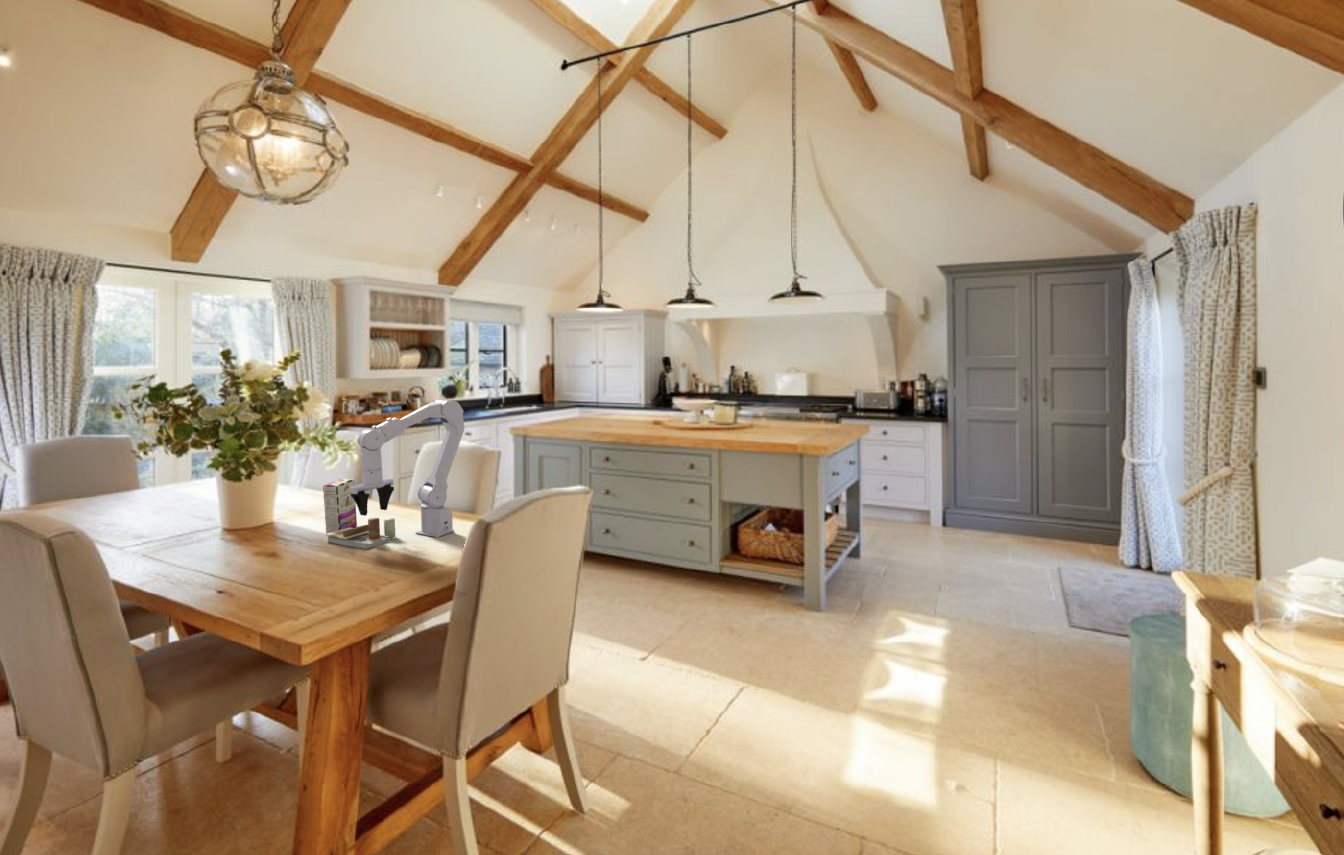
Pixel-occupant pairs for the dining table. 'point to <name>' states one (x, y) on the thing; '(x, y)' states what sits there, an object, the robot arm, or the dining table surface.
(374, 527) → the walnut peg
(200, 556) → the dining table surface
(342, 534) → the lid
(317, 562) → the dining table surface
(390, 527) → the sage peg
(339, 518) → the candy bar box
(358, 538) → the board
